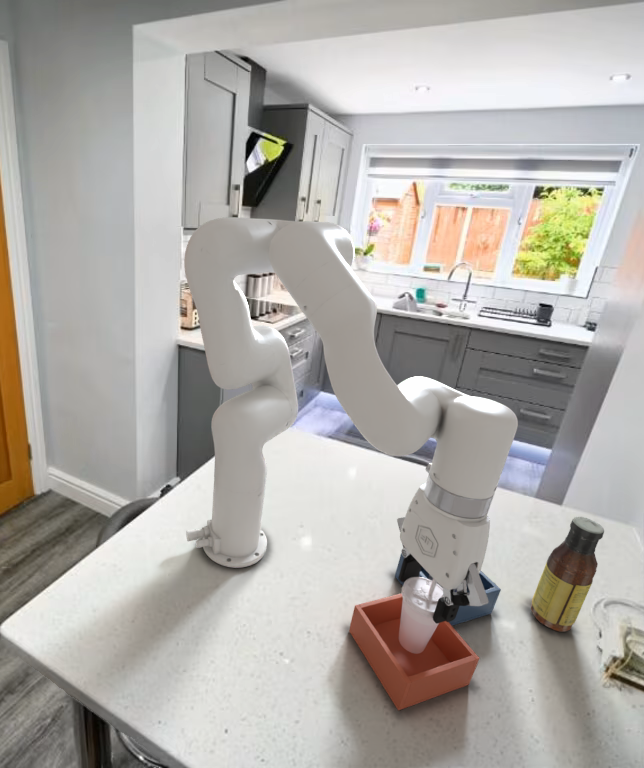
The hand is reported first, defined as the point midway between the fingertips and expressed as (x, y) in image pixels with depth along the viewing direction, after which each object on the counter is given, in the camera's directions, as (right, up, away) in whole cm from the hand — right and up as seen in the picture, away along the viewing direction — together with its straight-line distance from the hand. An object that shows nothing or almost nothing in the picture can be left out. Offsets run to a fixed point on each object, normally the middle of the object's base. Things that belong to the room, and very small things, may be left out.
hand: (424, 597), depth 62 cm
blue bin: (+10, -7, +16) cm, 20 cm away
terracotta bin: (-1, -11, +5) cm, 12 cm away
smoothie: (-1, -9, +4) cm, 9 cm away
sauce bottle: (+27, -10, +13) cm, 32 cm away
